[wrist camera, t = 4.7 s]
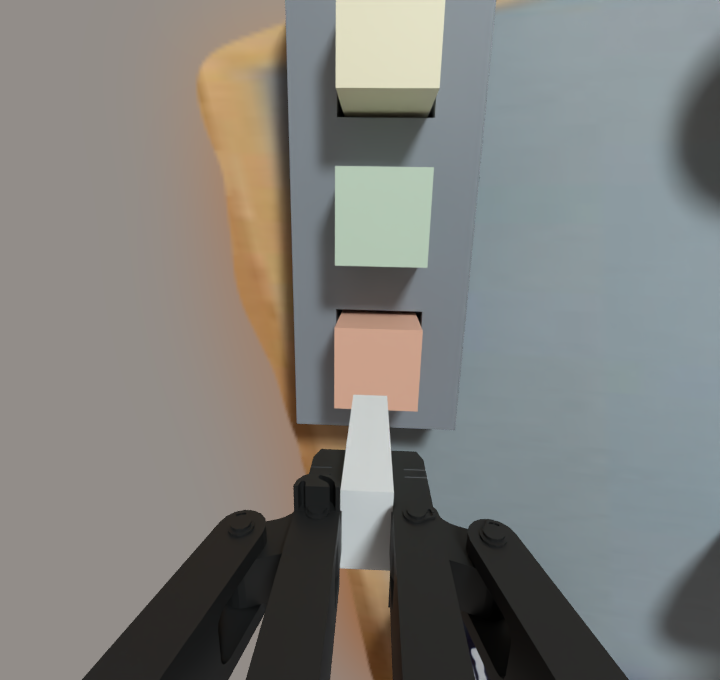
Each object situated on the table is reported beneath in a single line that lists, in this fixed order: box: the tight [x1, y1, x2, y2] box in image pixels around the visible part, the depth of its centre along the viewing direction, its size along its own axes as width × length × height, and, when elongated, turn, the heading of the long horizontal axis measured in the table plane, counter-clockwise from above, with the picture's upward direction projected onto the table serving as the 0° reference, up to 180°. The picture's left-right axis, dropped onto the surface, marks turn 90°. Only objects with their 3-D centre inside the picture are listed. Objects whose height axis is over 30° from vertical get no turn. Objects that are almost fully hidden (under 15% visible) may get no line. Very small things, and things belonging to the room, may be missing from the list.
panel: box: [285, 0, 496, 430], centre depth 28 cm, size 30×12×5 cm, turn 179°
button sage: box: [335, 166, 434, 268], centre depth 25 cm, size 5×5×6 cm
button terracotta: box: [334, 309, 423, 412], centre depth 27 cm, size 5×5×6 cm
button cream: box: [336, 0, 445, 118], centre depth 22 cm, size 5×5×6 cm
